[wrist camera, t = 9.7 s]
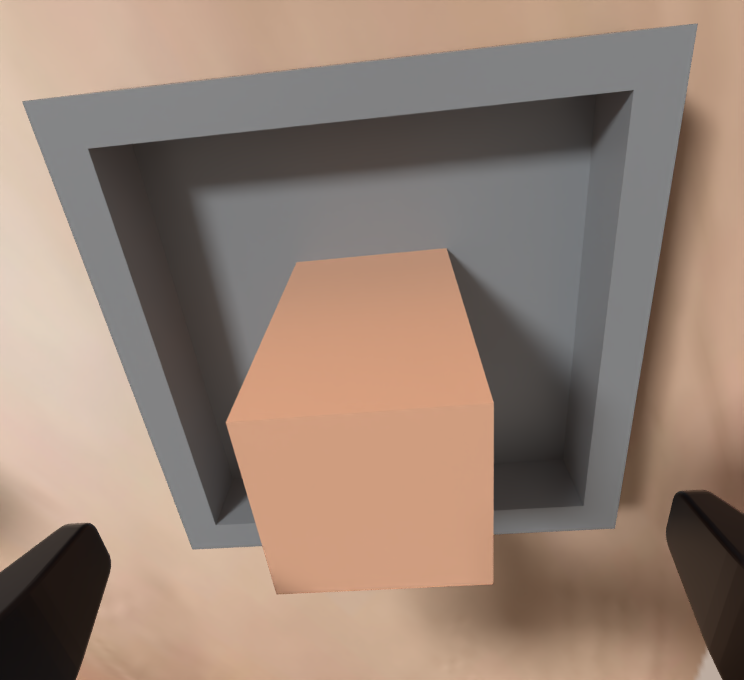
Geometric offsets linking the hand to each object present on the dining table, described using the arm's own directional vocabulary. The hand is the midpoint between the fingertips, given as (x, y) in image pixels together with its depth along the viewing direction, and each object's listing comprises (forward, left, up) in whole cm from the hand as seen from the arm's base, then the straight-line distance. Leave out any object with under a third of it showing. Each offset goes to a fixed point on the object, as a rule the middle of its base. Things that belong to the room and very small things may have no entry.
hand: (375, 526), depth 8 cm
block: (0, 0, -8) cm, 8 cm away
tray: (0, 0, -8) cm, 9 cm away
